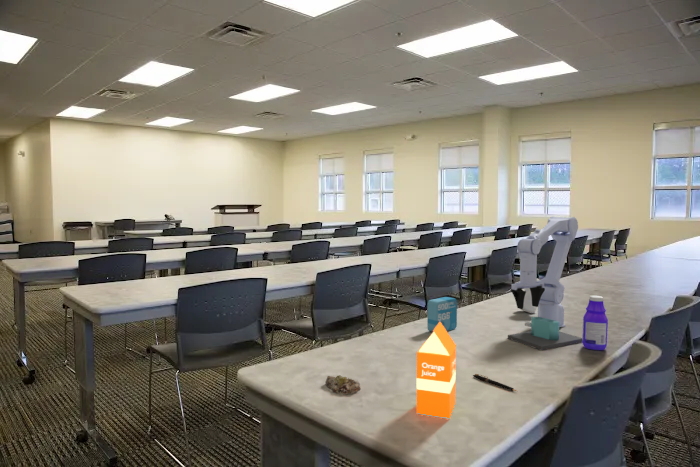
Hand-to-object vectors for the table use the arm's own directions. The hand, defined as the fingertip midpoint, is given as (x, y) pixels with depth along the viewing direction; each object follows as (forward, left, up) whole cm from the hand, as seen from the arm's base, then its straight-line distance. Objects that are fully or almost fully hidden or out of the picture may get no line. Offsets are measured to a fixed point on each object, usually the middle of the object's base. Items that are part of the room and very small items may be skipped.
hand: (527, 307), depth 174 cm
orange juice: (+69, +38, -10) cm, 79 cm away
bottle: (-5, +24, -10) cm, 26 cm away
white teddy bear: (-25, -22, -10) cm, 35 cm away
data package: (+26, -17, -10) cm, 33 cm away
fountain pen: (+46, +33, -10) cm, 58 cm away
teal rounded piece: (+2, +9, -8) cm, 12 cm away
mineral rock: (+83, +16, -10) cm, 85 cm away
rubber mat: (+2, +10, -9) cm, 14 cm away
